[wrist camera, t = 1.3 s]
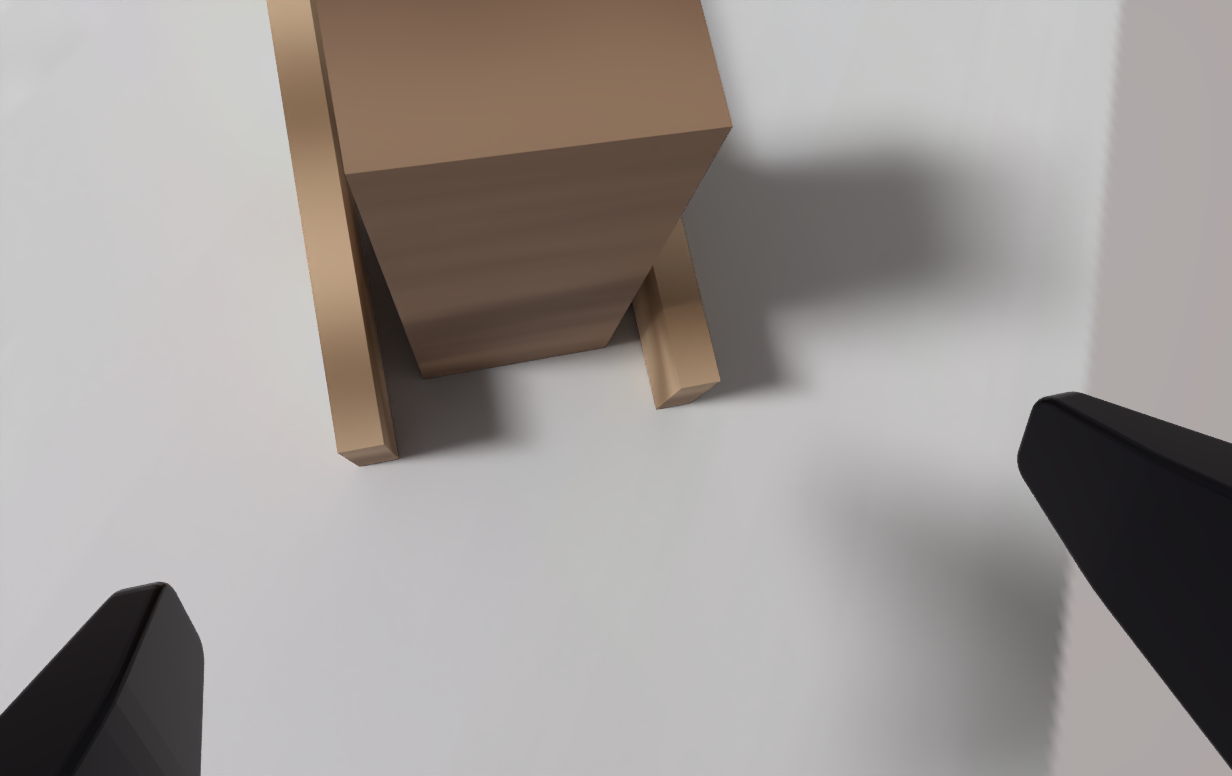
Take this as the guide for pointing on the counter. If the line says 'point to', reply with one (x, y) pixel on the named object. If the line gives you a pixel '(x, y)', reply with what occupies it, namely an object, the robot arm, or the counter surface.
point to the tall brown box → (520, 160)
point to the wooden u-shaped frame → (342, 281)
